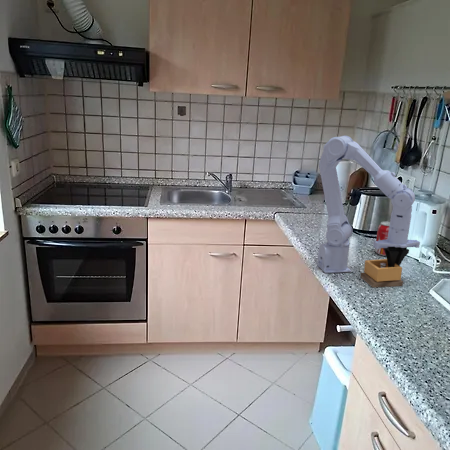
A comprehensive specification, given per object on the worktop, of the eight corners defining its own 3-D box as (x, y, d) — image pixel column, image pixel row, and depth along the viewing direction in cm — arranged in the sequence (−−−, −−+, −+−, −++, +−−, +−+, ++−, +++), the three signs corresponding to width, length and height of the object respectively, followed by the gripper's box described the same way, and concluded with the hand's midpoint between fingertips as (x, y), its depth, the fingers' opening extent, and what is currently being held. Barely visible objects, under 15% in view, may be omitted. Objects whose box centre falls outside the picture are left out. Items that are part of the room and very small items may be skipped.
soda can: (378, 249, 162) (382, 219, 159) (396, 253, 158) (401, 223, 155) (371, 254, 157) (375, 223, 154) (390, 258, 153) (395, 227, 149)
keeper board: (372, 287, 128) (375, 269, 126) (360, 277, 135) (362, 259, 133) (402, 286, 129) (405, 268, 128) (388, 275, 137) (391, 258, 135)
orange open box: (376, 281, 127) (377, 269, 126) (364, 272, 135) (365, 260, 134) (400, 279, 128) (402, 267, 127) (386, 270, 136) (388, 258, 135)
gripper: (384, 232, 123) (378, 274, 127) (428, 231, 125) (421, 273, 129) (372, 225, 129) (366, 266, 133) (414, 224, 132) (408, 264, 136)
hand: (392, 269), depth 132 cm, fingers closed on orange open box
